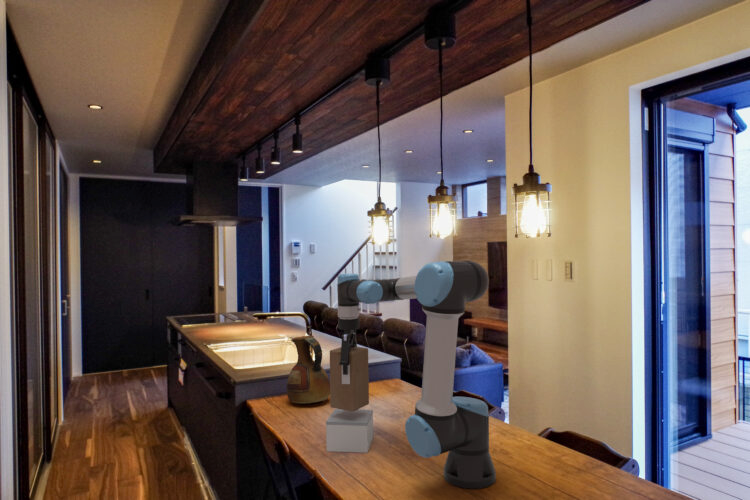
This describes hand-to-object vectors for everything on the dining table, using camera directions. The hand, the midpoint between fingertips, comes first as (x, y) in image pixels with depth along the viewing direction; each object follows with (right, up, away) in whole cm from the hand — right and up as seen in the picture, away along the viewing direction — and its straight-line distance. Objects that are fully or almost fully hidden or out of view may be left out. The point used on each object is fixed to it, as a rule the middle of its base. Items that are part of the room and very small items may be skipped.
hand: (349, 379), depth 177 cm
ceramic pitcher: (-21, -23, +50) cm, 59 cm away
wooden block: (0, -10, 0) cm, 10 cm away
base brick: (0, -23, 0) cm, 23 cm away
